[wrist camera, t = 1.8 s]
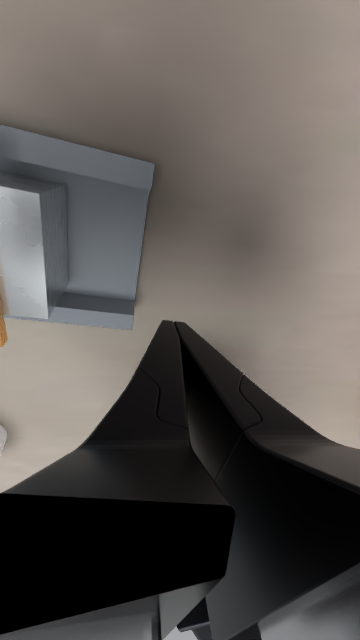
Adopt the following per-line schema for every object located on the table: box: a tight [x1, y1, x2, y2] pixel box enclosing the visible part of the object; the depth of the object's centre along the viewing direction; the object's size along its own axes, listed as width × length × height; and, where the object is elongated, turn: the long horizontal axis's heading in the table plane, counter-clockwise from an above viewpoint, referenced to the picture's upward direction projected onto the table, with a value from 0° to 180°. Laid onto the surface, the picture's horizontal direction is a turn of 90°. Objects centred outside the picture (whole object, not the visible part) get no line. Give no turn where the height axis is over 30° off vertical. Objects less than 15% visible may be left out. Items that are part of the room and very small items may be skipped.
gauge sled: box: [0, 171, 68, 347], centre depth 12 cm, size 9×5×5 cm, turn 167°
